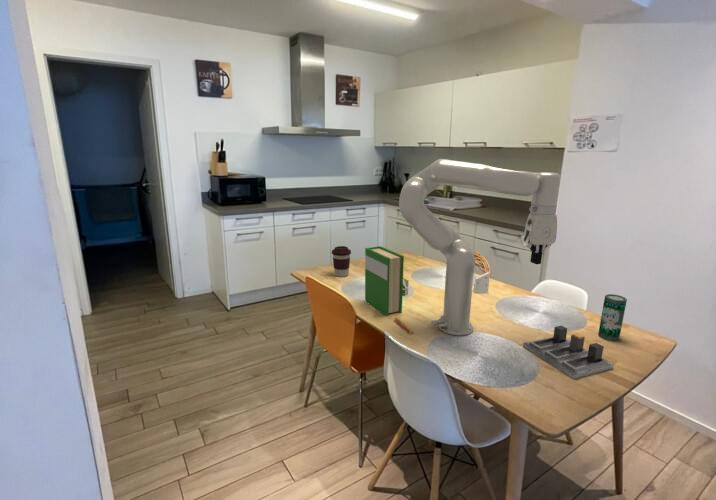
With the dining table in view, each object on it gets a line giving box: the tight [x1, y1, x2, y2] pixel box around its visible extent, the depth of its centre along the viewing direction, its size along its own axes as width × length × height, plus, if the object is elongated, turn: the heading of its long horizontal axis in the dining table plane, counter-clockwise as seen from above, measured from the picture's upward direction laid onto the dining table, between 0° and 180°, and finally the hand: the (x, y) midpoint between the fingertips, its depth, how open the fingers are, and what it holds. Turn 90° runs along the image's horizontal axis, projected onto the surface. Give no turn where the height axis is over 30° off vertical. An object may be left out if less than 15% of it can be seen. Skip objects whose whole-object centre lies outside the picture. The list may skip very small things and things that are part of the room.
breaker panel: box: [522, 325, 615, 380], centre depth 123 cm, size 16×20×7 cm
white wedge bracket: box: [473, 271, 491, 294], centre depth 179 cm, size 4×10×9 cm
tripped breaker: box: [569, 332, 585, 352], centre depth 124 cm, size 3×2×5 cm
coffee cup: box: [331, 245, 352, 278], centre depth 202 cm, size 10×10×15 cm
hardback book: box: [364, 245, 405, 317], centre depth 160 cm, size 18×7×24 cm, turn 28°
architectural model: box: [402, 277, 409, 296], centre depth 177 cm, size 3×7×7 cm, turn 29°
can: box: [597, 293, 628, 342], centre depth 135 cm, size 6×6×15 cm
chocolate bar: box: [393, 316, 415, 335], centre depth 144 cm, size 3×12×2 cm, turn 23°
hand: (535, 263), depth 133 cm, fingers closed
